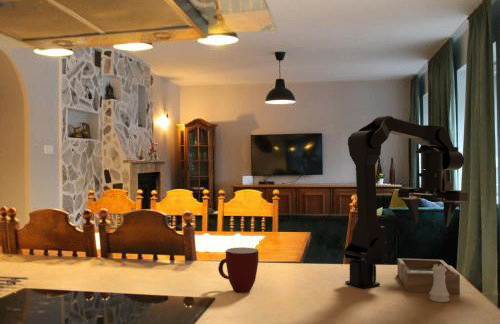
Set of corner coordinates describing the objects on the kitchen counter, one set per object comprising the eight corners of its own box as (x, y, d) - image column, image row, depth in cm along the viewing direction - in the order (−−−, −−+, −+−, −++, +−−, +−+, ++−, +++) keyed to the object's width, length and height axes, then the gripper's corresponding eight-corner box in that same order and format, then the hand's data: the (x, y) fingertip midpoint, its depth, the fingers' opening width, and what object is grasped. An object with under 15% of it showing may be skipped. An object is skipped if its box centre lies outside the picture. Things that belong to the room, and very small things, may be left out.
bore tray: (459, 294, 113) (459, 275, 113) (407, 291, 115) (407, 273, 115) (442, 276, 130) (442, 259, 130) (397, 274, 132) (397, 258, 132)
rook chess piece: (453, 303, 106) (453, 267, 106) (433, 302, 106) (433, 267, 106) (445, 297, 110) (445, 263, 110) (426, 297, 110) (426, 263, 110)
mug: (211, 292, 114) (211, 251, 114) (223, 284, 121) (223, 246, 121) (252, 296, 110) (252, 254, 110) (262, 288, 118) (262, 248, 118)
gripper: (477, 170, 131) (477, 226, 131) (417, 169, 146) (416, 219, 146) (458, 170, 124) (458, 229, 124) (396, 169, 139) (396, 222, 138)
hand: (431, 224), depth 133 cm, fingers open, 9 cm apart
